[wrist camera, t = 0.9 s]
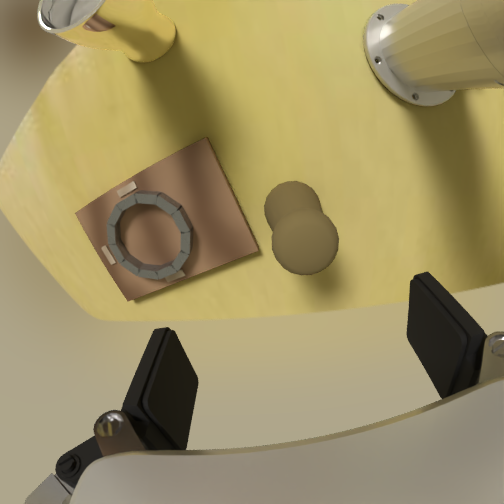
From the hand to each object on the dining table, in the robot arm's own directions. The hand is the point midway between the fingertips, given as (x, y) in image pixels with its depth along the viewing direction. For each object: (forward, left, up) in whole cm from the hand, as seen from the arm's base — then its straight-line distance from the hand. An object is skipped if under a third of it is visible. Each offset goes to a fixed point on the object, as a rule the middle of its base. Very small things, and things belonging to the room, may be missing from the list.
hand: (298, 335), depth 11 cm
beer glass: (+5, -22, -22) cm, 31 cm away
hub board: (+13, -2, -22) cm, 25 cm away
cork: (-1, +2, -22) cm, 22 cm away
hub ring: (+14, -2, -21) cm, 25 cm away
